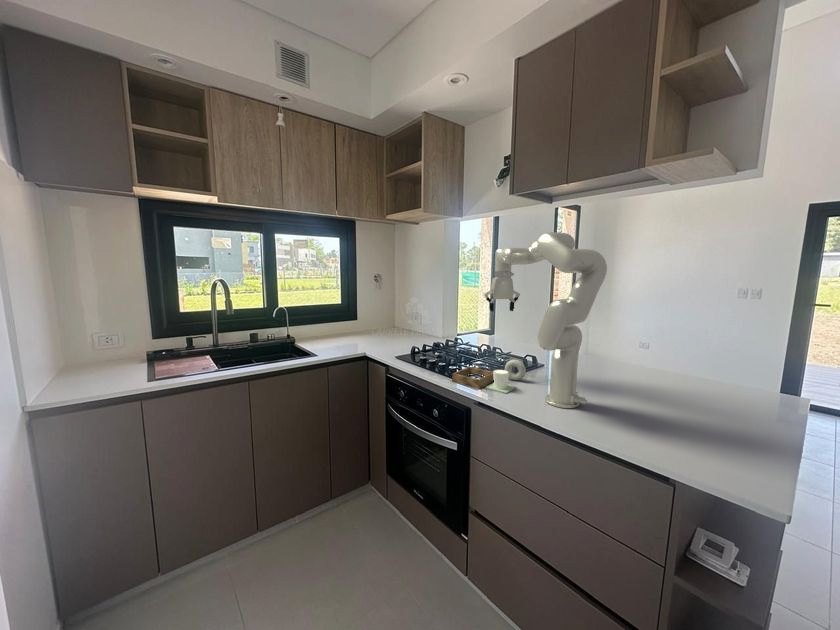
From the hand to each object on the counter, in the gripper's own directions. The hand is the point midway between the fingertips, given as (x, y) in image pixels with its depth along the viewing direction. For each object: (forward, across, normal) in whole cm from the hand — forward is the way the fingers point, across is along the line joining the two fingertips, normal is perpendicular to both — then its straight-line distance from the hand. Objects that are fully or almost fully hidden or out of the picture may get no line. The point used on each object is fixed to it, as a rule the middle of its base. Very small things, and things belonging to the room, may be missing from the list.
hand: (501, 311), depth 163 cm
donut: (+32, -5, +7) cm, 34 cm away
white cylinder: (+32, +5, +17) cm, 37 cm away
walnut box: (+32, +15, +7) cm, 36 cm away
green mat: (+32, +5, +17) cm, 37 cm away
